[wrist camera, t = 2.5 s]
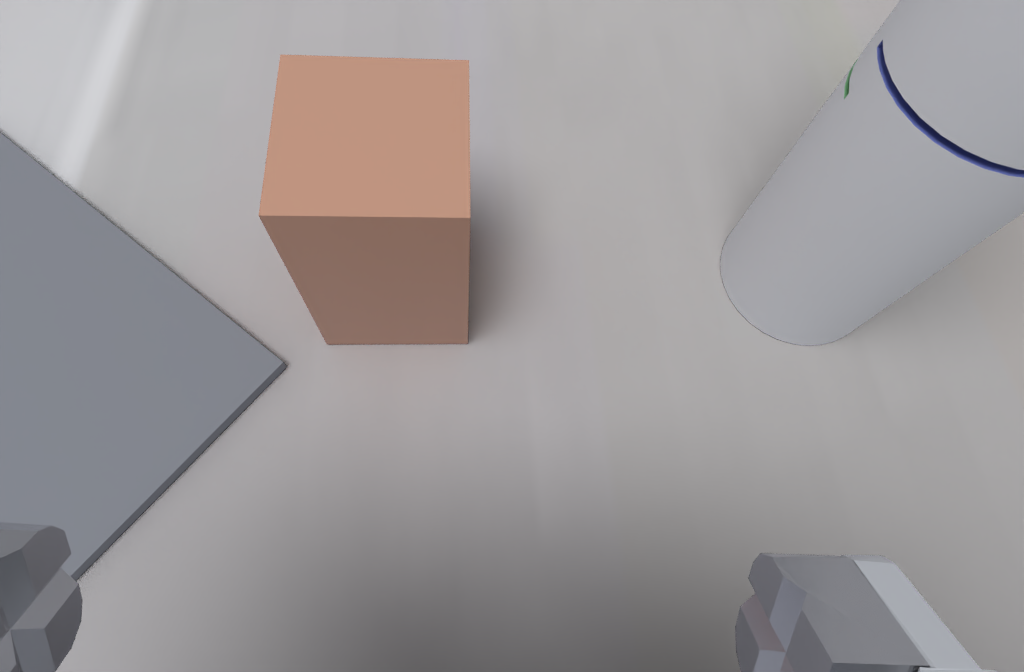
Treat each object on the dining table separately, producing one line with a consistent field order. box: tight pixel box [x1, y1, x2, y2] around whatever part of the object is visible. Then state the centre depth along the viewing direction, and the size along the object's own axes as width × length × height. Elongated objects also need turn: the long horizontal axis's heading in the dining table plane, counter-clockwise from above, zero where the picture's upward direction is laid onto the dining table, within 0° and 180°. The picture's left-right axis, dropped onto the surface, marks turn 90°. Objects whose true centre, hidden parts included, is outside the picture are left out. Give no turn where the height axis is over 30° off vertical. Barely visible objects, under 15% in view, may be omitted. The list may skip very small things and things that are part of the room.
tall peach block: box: [259, 55, 470, 344], centre depth 24 cm, size 6×6×10 cm
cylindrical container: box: [720, 0, 1024, 346], centre depth 19 cm, size 7×7×25 cm
